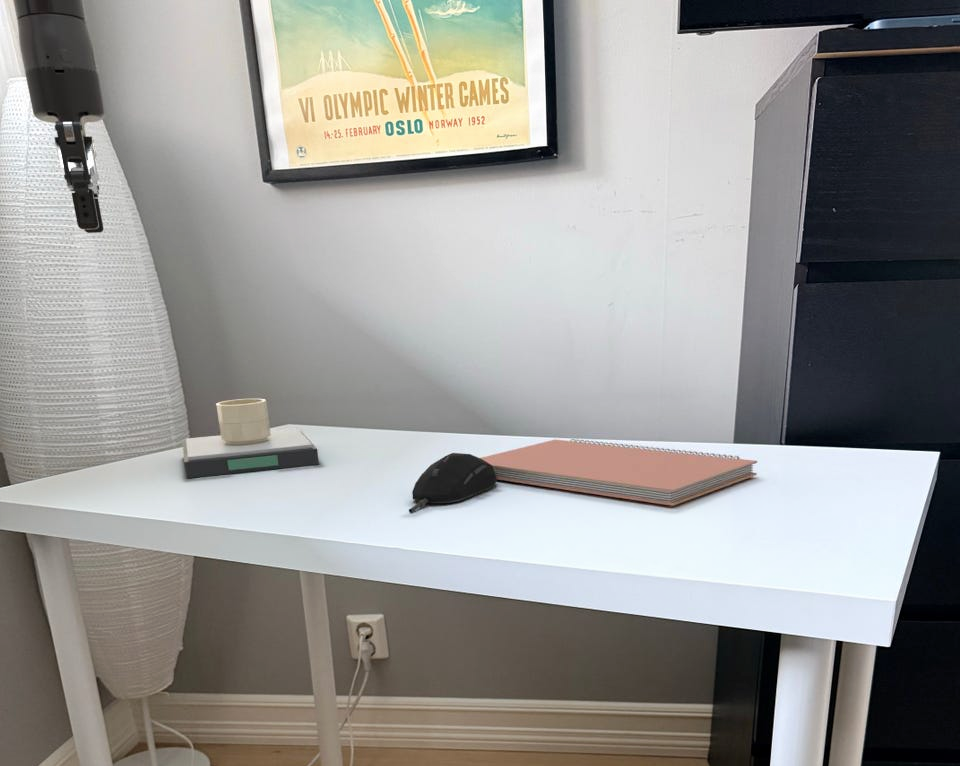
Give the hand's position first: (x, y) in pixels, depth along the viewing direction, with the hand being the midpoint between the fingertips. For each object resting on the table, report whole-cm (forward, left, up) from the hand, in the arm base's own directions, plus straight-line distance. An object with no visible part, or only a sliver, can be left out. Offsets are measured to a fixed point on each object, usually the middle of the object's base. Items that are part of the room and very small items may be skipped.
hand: (91, 230), depth 108 cm
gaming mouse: (+32, -34, -28) cm, 55 cm away
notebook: (+50, -34, -28) cm, 67 cm away
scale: (+14, -1, -28) cm, 31 cm away
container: (+14, -1, -26) cm, 29 cm away
